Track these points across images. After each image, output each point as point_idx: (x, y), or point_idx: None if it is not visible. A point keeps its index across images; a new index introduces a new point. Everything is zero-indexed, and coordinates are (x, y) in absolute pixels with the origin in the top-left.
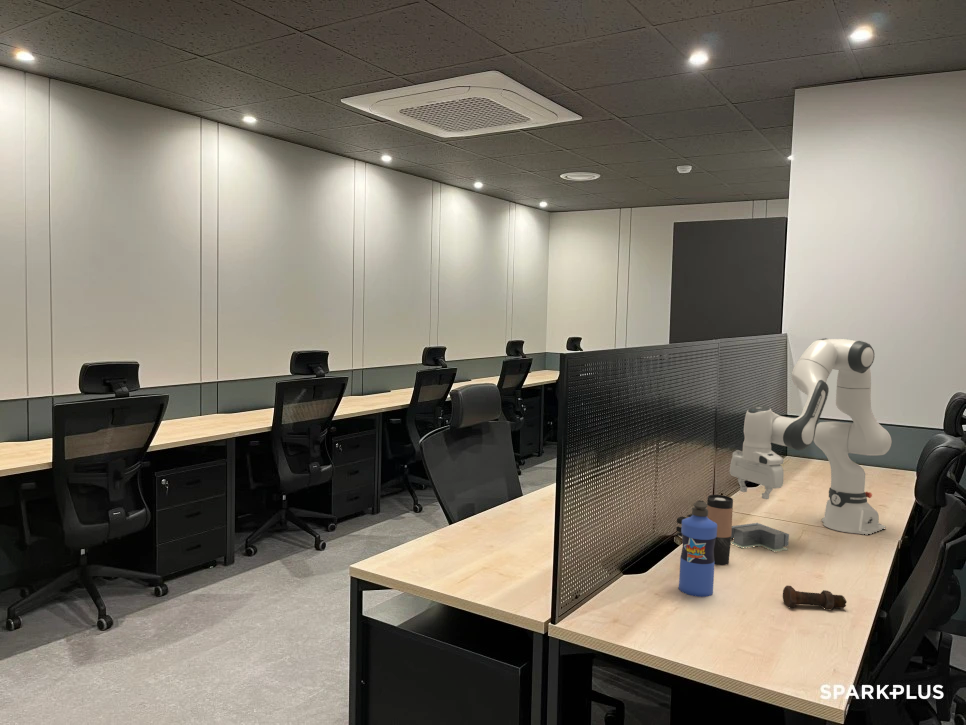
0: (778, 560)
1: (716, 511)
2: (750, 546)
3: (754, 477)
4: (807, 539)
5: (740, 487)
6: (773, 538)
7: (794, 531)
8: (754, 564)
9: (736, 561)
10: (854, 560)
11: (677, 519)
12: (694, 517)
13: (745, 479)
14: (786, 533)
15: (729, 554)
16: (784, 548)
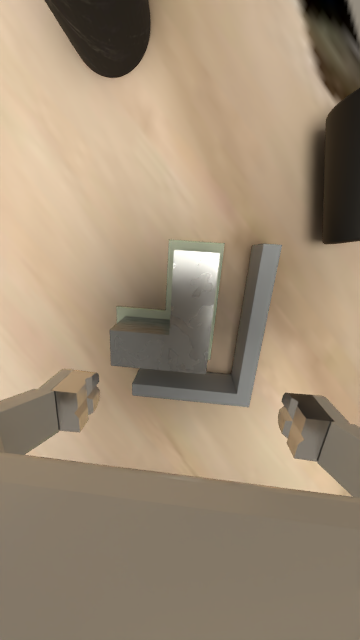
0: (62, 255)
1: None
2: (169, 274)
3: (67, 593)
4: (158, 449)
5: (338, 414)
6: (121, 325)
7: (209, 471)
8: (51, 149)
9: (88, 109)
10: None
11: None
12: None
13: (320, 497)
14: (139, 394)
15: (60, 25)
16: None
